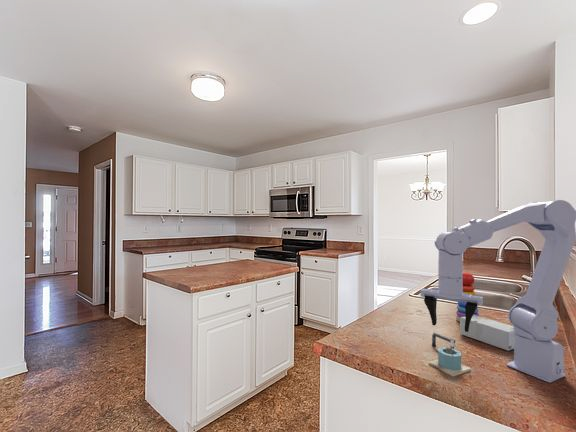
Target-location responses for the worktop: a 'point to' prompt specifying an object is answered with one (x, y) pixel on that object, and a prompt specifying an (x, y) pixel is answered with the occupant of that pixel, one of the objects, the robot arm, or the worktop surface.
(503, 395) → the worktop surface
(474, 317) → the skincare box
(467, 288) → the stacking toy
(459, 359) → the ring
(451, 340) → the handle
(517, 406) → the worktop surface
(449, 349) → the peg stand
